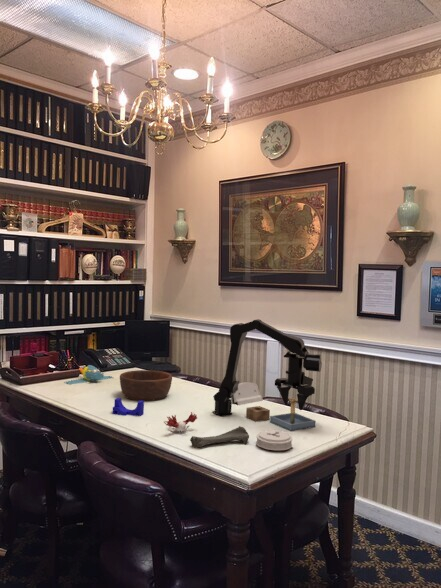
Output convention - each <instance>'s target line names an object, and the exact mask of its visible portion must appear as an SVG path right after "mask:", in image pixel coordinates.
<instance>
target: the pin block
mask: <svg viewBox="0 0 441 588" xmlns="http://www.w3.org/2000/svg"><path fill="white" fill-rule="evenodd" d="M270 410H271V409H268V408H266V407H263V406H260V405H257V406H250V407H246V413H245V414H246V415H245V417H246V418H247V419H249V420H250V421H254V422H255V423H257V422H262V421H267V420H269V421H270V416H271V415H270V414H271V413H270V412H271V411H270Z"/></svg>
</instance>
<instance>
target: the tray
mask: <svg viewBox="0 0 441 588" xmlns="http://www.w3.org/2000/svg"><path fill="white" fill-rule="evenodd" d="M290 416H291V412H288V413H282V414H274V415H270V418H269V423H271V424H274V425H276V426H277V427H278V426H279V428H282V429H285V430H286V431H289V432H294V431H295V432H296V431H300V430H306V429H312V428H316V423H317V422H316V420H315V419H311V418H310V417H307V416H305V415H302V414H299V413H297V412H295V423H294V424H292V423H290Z"/></svg>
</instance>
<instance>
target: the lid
mask: <svg viewBox="0 0 441 588" xmlns="http://www.w3.org/2000/svg"><path fill="white" fill-rule="evenodd" d="M292 441H293V436H292V435H290V433H288V432H286V431H282V430H279V429H278V430H276V429H265V430H261V431H260V432H257V434H256V442H255V444H256V445H257V447H259V448H261V449H265V450H268V451H270V450H271V451H286V450H289V449H291V448H292V447H293V444H292Z"/></svg>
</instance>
